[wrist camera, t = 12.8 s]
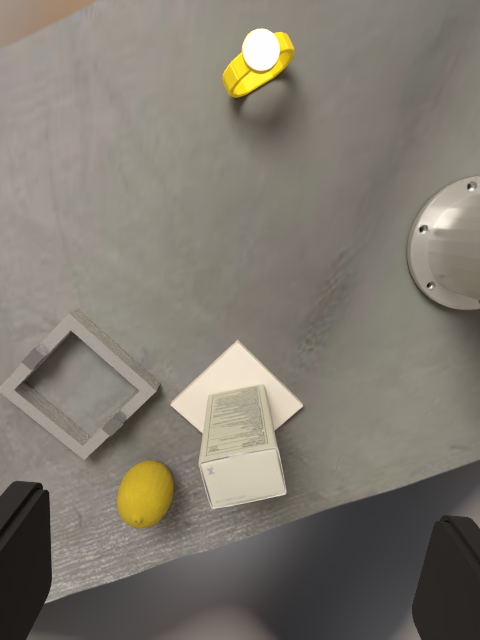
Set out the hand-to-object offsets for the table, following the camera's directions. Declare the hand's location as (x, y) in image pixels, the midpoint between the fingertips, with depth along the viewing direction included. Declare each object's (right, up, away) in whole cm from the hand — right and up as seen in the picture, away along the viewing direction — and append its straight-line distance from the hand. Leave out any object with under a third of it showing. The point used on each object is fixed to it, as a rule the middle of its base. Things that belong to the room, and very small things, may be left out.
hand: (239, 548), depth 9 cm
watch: (+2, +27, +25) cm, 36 cm away
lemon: (-10, -11, +34) cm, 37 cm away
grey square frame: (-17, -1, +31) cm, 36 cm away
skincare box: (0, -4, +32) cm, 32 cm away
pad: (0, -3, +32) cm, 32 cm away
